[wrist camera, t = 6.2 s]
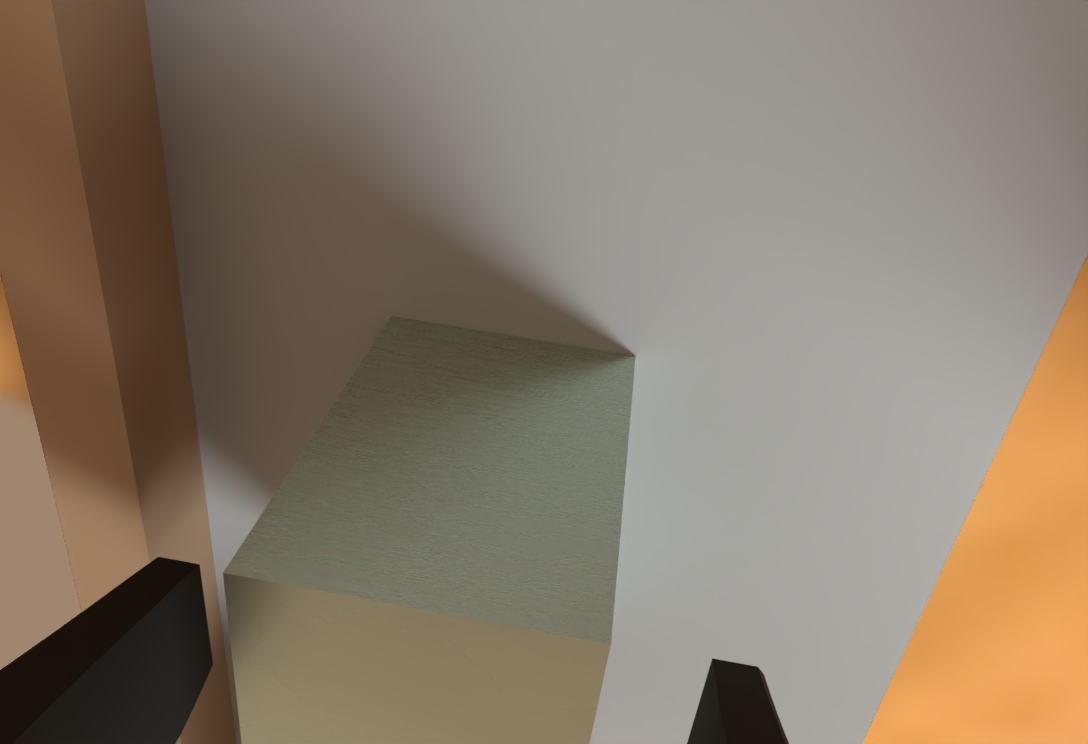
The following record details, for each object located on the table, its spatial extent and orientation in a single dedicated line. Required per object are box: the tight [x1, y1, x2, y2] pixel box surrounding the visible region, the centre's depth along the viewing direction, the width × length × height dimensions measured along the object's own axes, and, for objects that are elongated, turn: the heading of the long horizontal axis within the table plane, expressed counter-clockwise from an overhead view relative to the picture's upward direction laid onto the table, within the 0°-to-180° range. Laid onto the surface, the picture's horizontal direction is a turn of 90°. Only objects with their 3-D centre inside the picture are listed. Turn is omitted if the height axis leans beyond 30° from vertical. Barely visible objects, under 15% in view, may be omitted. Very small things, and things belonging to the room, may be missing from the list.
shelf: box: [0, 0, 1088, 744], centre depth 15 cm, size 15×30×3 cm, turn 174°
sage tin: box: [223, 316, 636, 744], centre depth 13 cm, size 4×6×6 cm
